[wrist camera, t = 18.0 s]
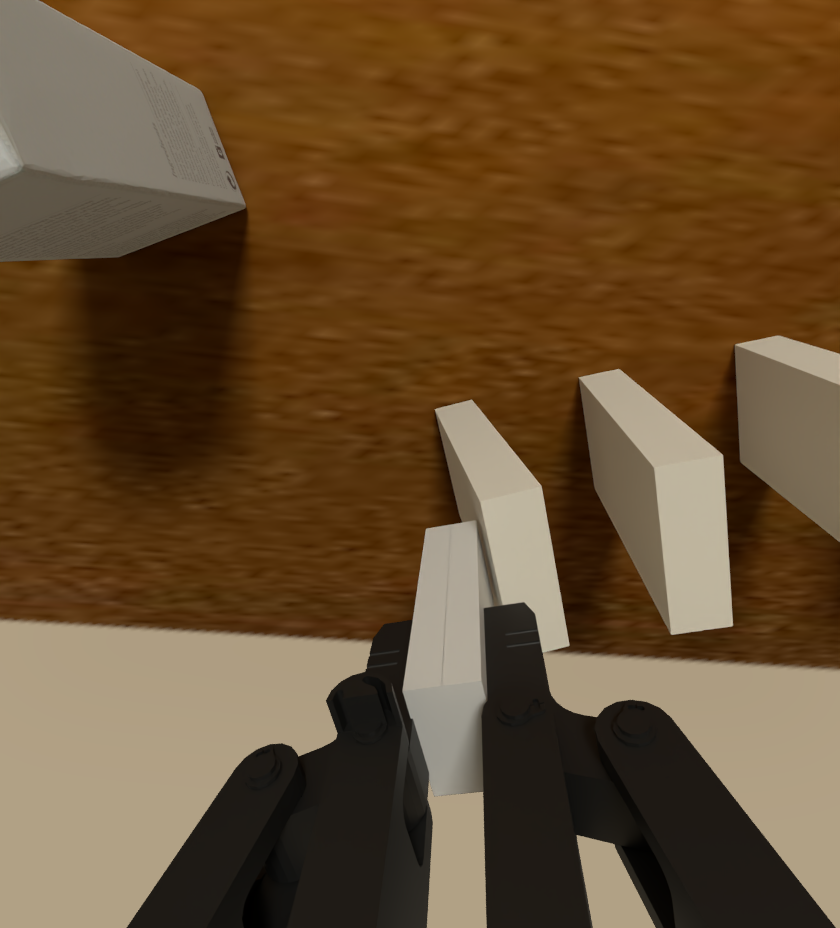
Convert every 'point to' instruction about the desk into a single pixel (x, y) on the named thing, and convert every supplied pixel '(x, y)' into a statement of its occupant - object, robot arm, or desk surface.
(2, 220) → the skincare box
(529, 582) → the domino
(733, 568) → the desk surface
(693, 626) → the domino
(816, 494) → the domino
